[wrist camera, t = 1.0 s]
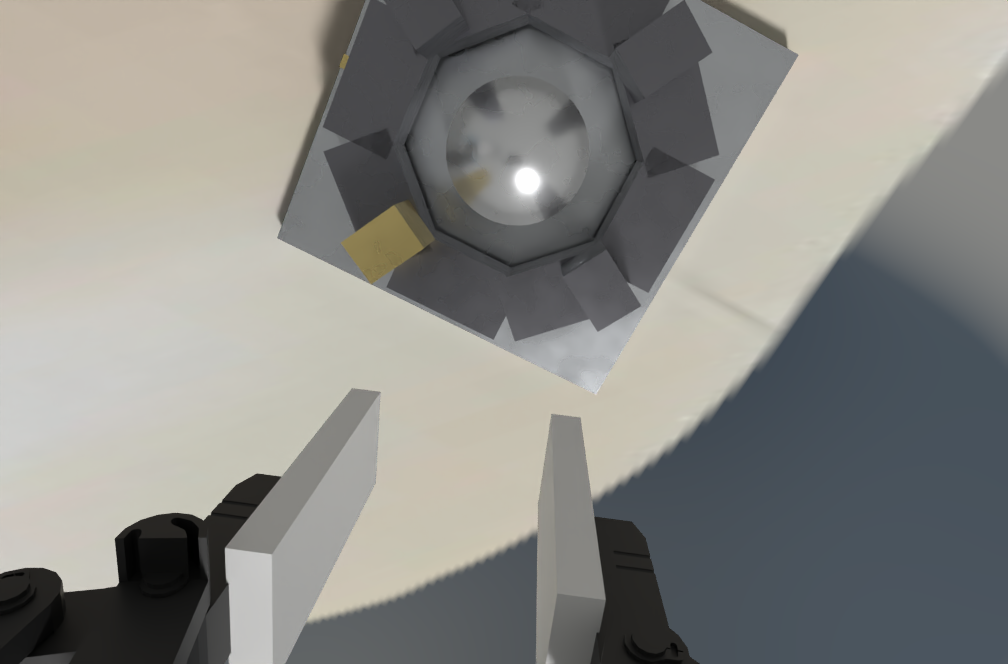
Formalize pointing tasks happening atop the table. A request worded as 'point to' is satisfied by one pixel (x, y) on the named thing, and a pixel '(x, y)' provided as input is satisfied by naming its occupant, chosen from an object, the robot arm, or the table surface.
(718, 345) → the table surface
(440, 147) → the base plate
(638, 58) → the octagonal block ring
